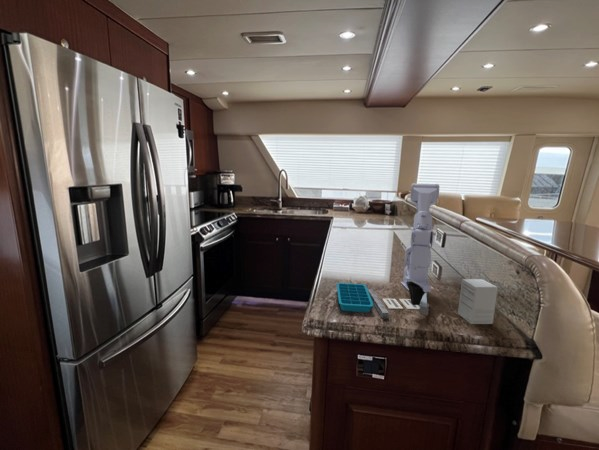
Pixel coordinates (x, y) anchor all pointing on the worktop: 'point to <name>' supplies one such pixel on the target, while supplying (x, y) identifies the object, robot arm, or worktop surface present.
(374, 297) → the rail
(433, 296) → the worktop surface
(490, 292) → the supplement box
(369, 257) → the worktop surface
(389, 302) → the psu label
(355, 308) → the ice cube tray
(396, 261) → the worktop surface
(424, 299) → the bar
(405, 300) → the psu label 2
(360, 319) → the worktop surface
